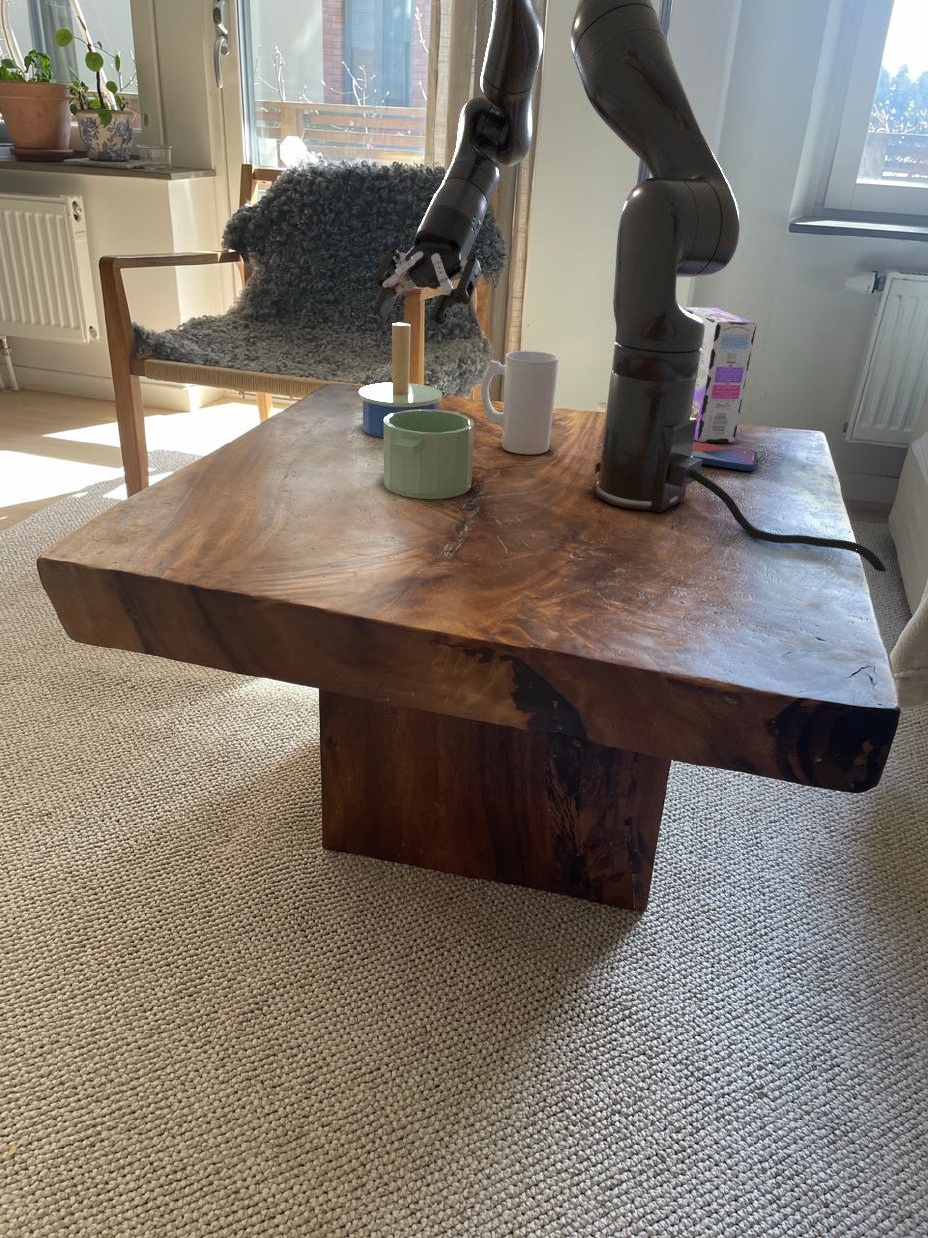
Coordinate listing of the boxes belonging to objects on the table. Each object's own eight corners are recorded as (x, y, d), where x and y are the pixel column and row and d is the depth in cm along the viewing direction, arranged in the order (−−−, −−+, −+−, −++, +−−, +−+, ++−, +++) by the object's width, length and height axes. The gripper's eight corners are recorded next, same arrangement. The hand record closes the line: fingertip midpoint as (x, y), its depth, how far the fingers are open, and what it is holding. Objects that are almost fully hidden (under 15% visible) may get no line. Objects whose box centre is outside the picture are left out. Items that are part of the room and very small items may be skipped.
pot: (488, 471, 109) (492, 410, 106) (445, 512, 96) (448, 444, 93) (411, 459, 112) (412, 400, 108) (359, 498, 99) (358, 432, 95)
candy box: (736, 443, 125) (759, 322, 117) (696, 443, 124) (717, 321, 116) (700, 417, 137) (718, 305, 129) (663, 417, 136) (680, 304, 128)
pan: (452, 429, 125) (453, 397, 123) (402, 444, 118) (403, 410, 116) (398, 415, 131) (398, 384, 129) (347, 428, 123) (346, 395, 121)
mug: (556, 445, 120) (565, 354, 115) (542, 458, 115) (550, 363, 109) (487, 434, 123) (491, 346, 118) (469, 447, 118) (474, 354, 112)
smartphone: (753, 473, 113) (755, 465, 113) (636, 455, 117) (637, 447, 116) (755, 458, 119) (757, 450, 119) (644, 441, 123) (645, 433, 123)
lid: (458, 403, 123) (461, 326, 118) (397, 416, 115) (398, 335, 111) (402, 387, 130) (403, 314, 125) (342, 398, 122) (340, 321, 117)
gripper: (398, 199, 122) (351, 295, 118) (490, 206, 116) (443, 307, 112) (417, 239, 129) (373, 331, 125) (505, 247, 123) (462, 344, 119)
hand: (406, 320), depth 119 cm, fingers open, 8 cm apart
